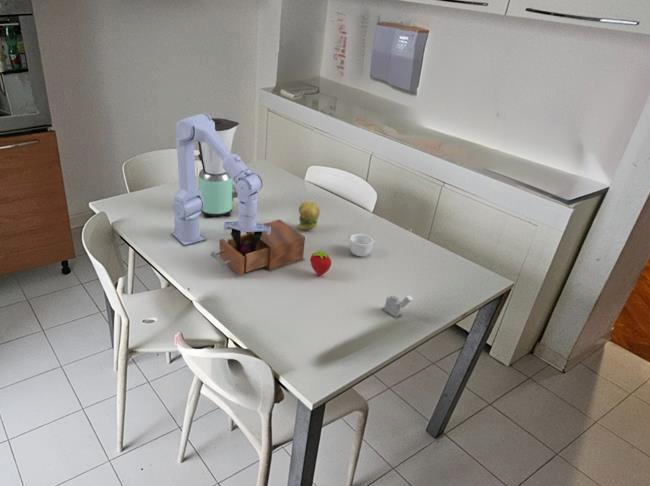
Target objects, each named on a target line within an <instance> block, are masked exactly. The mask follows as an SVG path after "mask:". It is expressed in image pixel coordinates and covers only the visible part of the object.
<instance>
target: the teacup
mask: <svg viewBox="0 0 650 486" xmlns="http://www.w3.org/2000/svg"><path fill="white" fill-rule="evenodd" d="M346 241H347V242H348V244H349V251H350V252H351V254H353V255H354V256H356V257H361V258H362V257H366V256H368V255H369V254H370V253H371V252H372V250H373V247H374V238H372V237H371V236H370V235H367V234H363V233H354V234H352V235H348V236H347V237H346Z"/></svg>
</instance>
